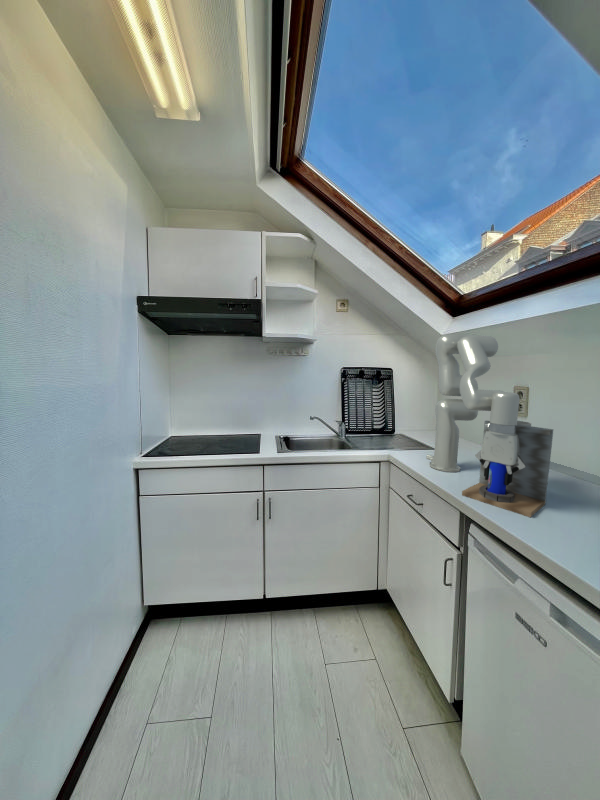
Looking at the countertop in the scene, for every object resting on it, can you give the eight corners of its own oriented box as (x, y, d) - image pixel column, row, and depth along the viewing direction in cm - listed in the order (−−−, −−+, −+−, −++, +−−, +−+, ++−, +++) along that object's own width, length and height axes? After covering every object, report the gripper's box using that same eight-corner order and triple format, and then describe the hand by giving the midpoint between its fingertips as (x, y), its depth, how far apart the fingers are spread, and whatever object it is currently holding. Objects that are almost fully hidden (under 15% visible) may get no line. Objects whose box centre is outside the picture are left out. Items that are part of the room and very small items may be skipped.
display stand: (461, 495, 107) (467, 424, 104) (480, 485, 117) (486, 420, 114) (530, 517, 91) (539, 434, 89) (545, 504, 101) (553, 429, 99)
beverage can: (488, 489, 106) (492, 448, 105) (505, 493, 103) (510, 450, 102) (485, 493, 102) (490, 450, 101) (504, 498, 99) (508, 453, 98)
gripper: (470, 425, 105) (465, 476, 107) (530, 435, 92) (523, 492, 94) (479, 424, 110) (474, 472, 111) (537, 432, 96) (531, 487, 98)
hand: (497, 481), depth 102 cm, fingers closed on beverage can, 5 cm apart
